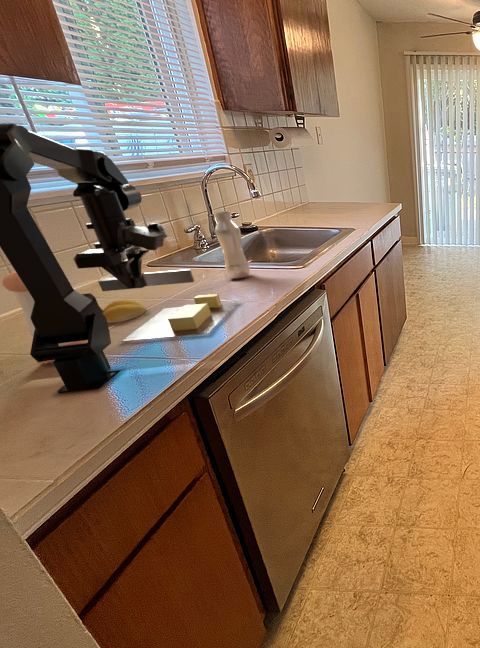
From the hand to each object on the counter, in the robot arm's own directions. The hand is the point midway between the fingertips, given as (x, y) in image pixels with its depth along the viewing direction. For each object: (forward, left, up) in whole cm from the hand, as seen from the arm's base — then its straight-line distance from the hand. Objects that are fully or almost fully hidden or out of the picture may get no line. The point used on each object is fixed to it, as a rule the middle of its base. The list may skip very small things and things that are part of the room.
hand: (134, 286), depth 89 cm
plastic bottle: (+33, -9, -10) cm, 36 cm away
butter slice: (+7, -10, -9) cm, 16 cm away
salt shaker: (-12, +9, -10) cm, 18 cm away
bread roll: (+7, +9, -10) cm, 15 cm away
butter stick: (-2, -10, -9) cm, 14 cm away
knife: (0, -3, 0) cm, 3 cm away
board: (0, -7, -10) cm, 12 cm away
